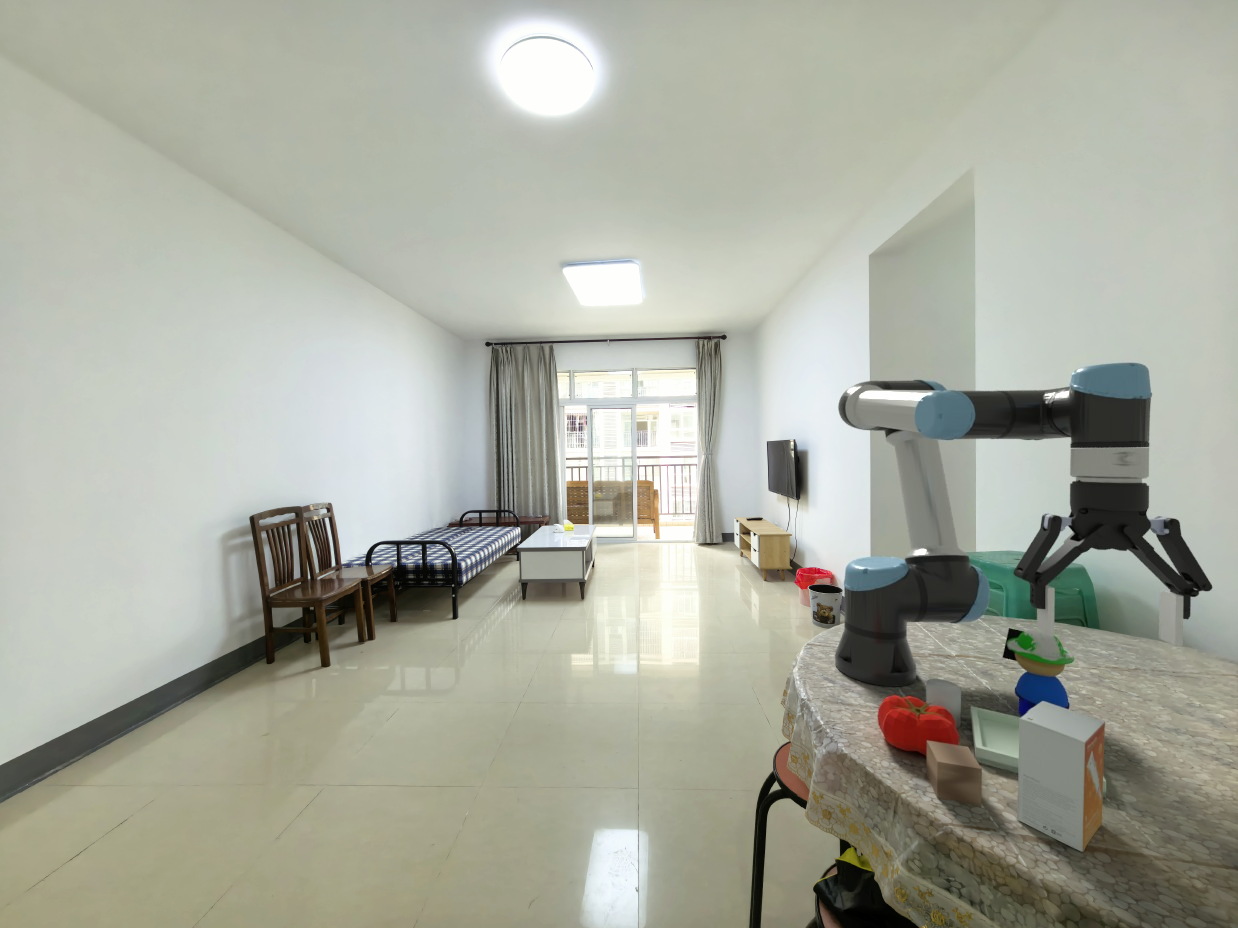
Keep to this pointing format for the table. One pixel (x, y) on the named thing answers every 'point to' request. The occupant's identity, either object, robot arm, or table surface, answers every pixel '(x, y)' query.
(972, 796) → the walnut cube
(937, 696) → the grey cylinder
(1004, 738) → the tray
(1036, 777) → the small box
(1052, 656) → the toy
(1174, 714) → the table surface
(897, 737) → the tomato
